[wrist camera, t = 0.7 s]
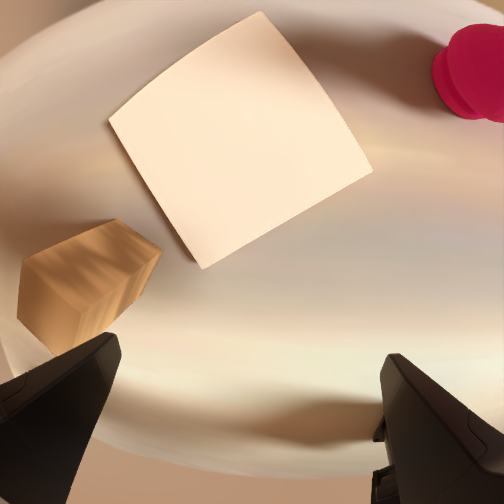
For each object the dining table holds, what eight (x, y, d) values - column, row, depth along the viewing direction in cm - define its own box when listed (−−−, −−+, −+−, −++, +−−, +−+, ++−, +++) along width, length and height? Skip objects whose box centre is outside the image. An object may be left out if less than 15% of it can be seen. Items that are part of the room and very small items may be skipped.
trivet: (367, 170, 19) (373, 171, 18) (207, 263, 23) (202, 269, 22) (262, 19, 17) (260, 10, 15) (118, 120, 21) (108, 119, 19)
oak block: (163, 251, 24) (81, 314, 13) (141, 294, 25) (68, 366, 15) (117, 218, 23) (22, 260, 13) (99, 263, 25) (17, 317, 14)
